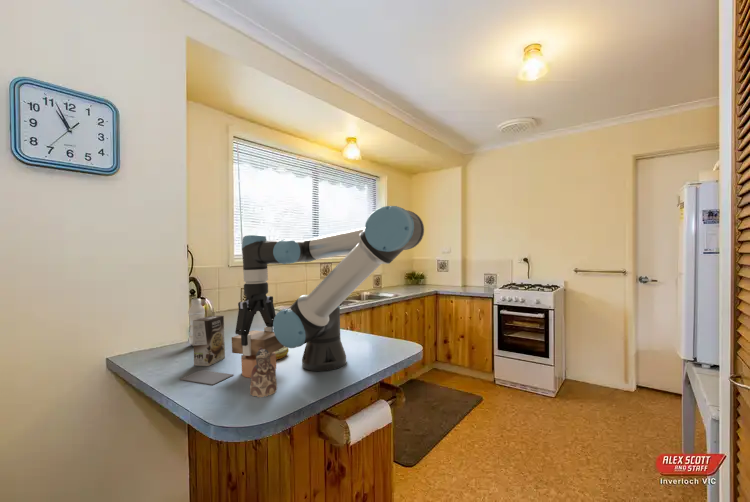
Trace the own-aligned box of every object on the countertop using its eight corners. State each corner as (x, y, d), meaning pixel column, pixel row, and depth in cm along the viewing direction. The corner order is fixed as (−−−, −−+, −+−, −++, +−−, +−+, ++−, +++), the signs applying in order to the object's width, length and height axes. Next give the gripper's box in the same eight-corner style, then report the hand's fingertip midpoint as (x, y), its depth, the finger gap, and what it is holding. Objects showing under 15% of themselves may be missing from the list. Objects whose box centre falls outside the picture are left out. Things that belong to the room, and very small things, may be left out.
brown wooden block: (283, 347, 111) (283, 332, 111) (264, 356, 102) (263, 340, 102) (253, 344, 116) (252, 330, 116) (232, 352, 107) (231, 337, 107)
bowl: (282, 367, 112) (281, 351, 112) (260, 379, 102) (260, 361, 102) (257, 364, 116) (257, 348, 116) (234, 375, 106) (234, 358, 106)
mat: (233, 375, 107) (233, 374, 107) (212, 385, 99) (212, 384, 99) (201, 370, 112) (201, 369, 112) (179, 379, 104) (179, 378, 104)
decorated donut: (250, 358, 124) (250, 347, 124) (279, 350, 132) (278, 340, 132) (264, 365, 116) (264, 353, 116) (294, 356, 124) (293, 345, 124)
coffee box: (209, 366, 116) (207, 320, 116) (193, 365, 117) (191, 320, 117) (226, 357, 125) (224, 315, 125) (211, 357, 126) (209, 315, 126)
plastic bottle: (185, 347, 141) (183, 300, 141) (196, 342, 148) (194, 298, 148) (199, 347, 140) (197, 300, 140) (209, 343, 147) (207, 297, 147)
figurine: (250, 399, 89) (249, 354, 89) (249, 389, 95) (247, 347, 95) (278, 393, 92) (276, 350, 92) (275, 384, 98) (273, 344, 98)
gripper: (269, 279, 121) (271, 340, 121) (220, 286, 100) (222, 360, 100) (286, 279, 118) (288, 342, 118) (239, 286, 97) (242, 362, 97)
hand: (258, 350), depth 109 cm, fingers closed on brown wooden block, 9 cm apart
